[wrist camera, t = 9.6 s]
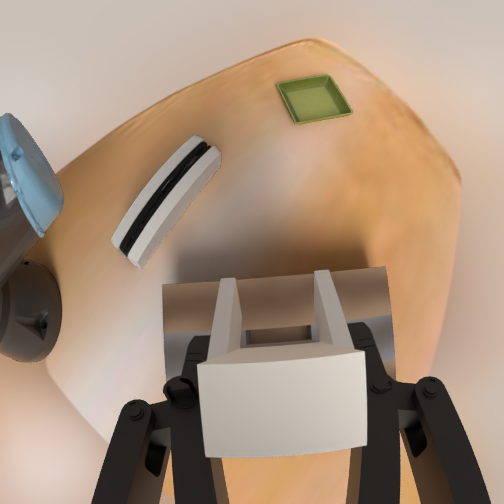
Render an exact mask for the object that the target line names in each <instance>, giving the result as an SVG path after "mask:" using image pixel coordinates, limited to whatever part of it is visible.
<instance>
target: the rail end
mask: <svg viewBox="0 0 504 504" xmlns="http://www.w3.org/2000/svg"><path fill="white" fill-rule="evenodd" d="M197 371H198V385H199V397H200V409H201V419H202V429H203V439H204V448H205V456H206V457H216V458H263V457H282V456H295V455H306V454H315V453H323V452H330V451H337V450H343V449H349V448H355V447H360V446H365V445H367V389H366V365H365V351H361V350H356V349H351V348H346V347H341V346H337V345H332V344H327V343H323V342H319V341H314V340H301V341H290V342H278V343H264V344H249V345H247V346H244V347H242V348H239V349H237V350H234V351H232V352H229V353H227V354H224V355H221V356H219V357H216V358H213V359H211V360H208V361H205V362H203V363H200V364H197Z"/></svg>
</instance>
